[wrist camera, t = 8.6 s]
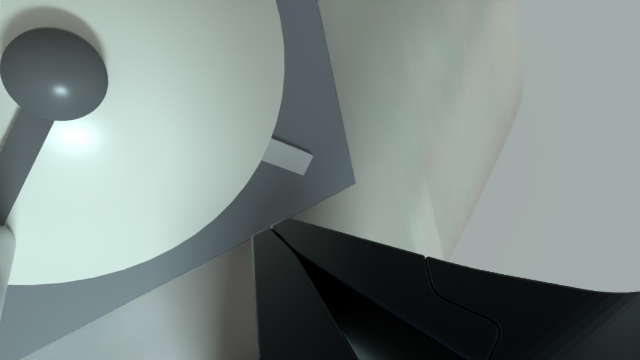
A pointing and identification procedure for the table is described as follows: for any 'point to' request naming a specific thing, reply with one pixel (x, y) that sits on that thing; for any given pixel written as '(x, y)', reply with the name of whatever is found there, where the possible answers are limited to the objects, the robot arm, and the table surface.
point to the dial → (127, 127)
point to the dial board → (236, 219)
